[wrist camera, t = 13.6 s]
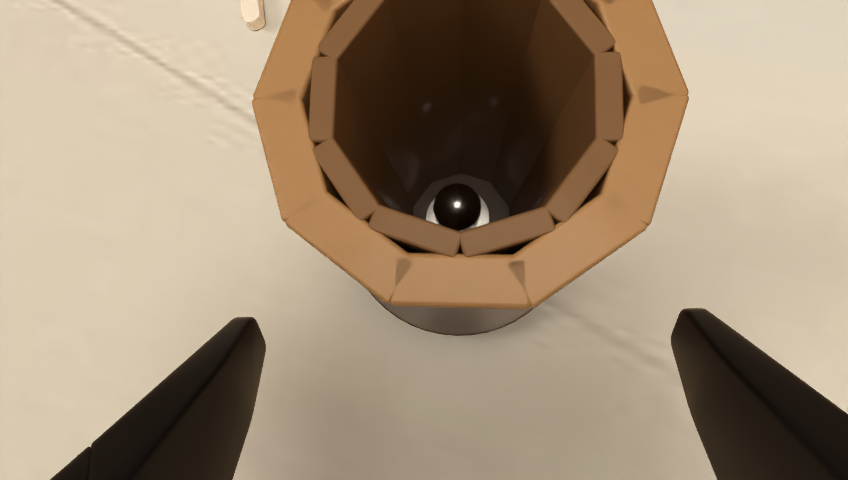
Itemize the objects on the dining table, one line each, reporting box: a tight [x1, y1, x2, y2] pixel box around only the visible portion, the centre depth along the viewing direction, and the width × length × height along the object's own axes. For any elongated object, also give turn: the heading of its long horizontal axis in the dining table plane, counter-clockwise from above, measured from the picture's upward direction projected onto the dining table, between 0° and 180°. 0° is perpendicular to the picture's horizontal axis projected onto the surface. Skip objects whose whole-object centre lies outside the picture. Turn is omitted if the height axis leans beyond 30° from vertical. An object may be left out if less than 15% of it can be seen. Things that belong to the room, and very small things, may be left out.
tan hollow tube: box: [252, 0, 689, 310], centre depth 14 cm, size 7×7×13 cm
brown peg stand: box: [368, 173, 534, 336], centre depth 19 cm, size 10×10×5 cm
